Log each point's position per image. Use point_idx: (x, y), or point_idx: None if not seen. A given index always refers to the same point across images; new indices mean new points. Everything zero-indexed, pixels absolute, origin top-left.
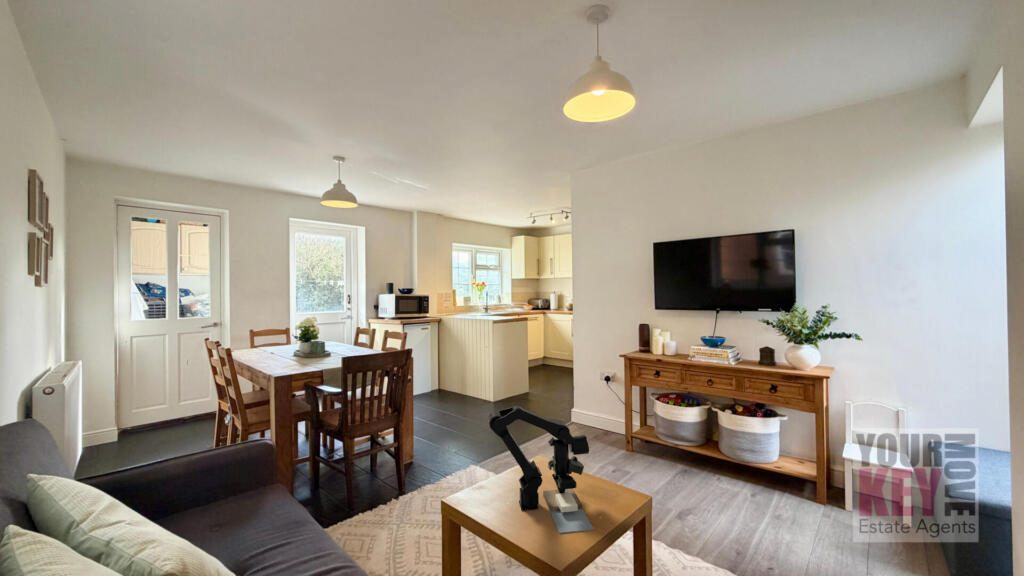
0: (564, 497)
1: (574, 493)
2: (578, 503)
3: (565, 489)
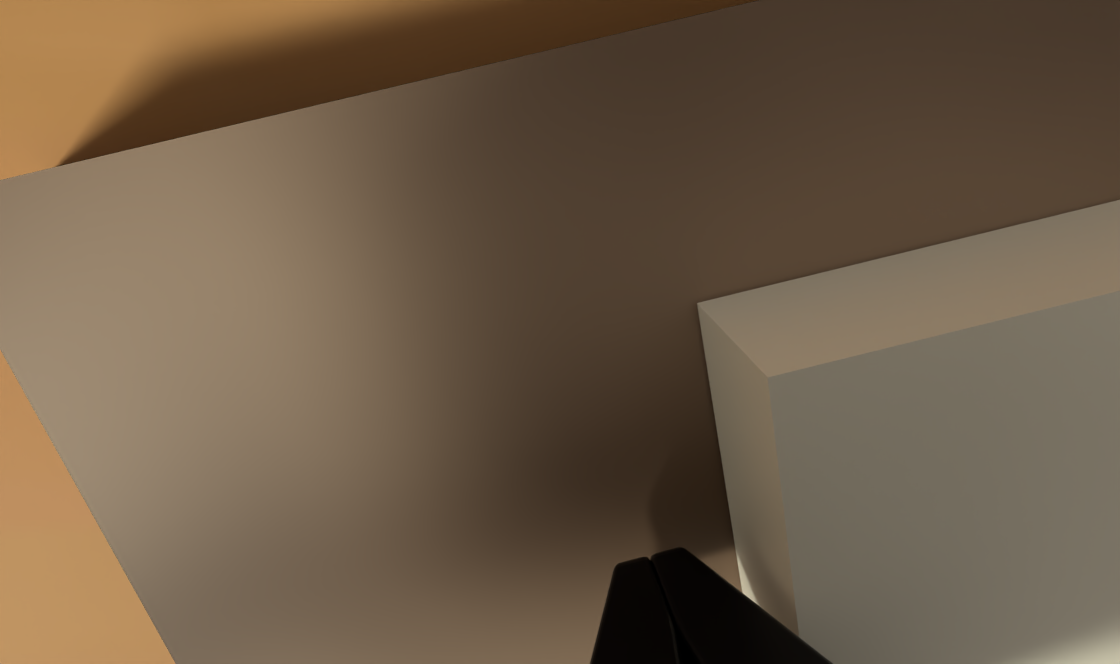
0: (1097, 593)
1: (366, 144)
2: (1090, 41)
3: (118, 462)
